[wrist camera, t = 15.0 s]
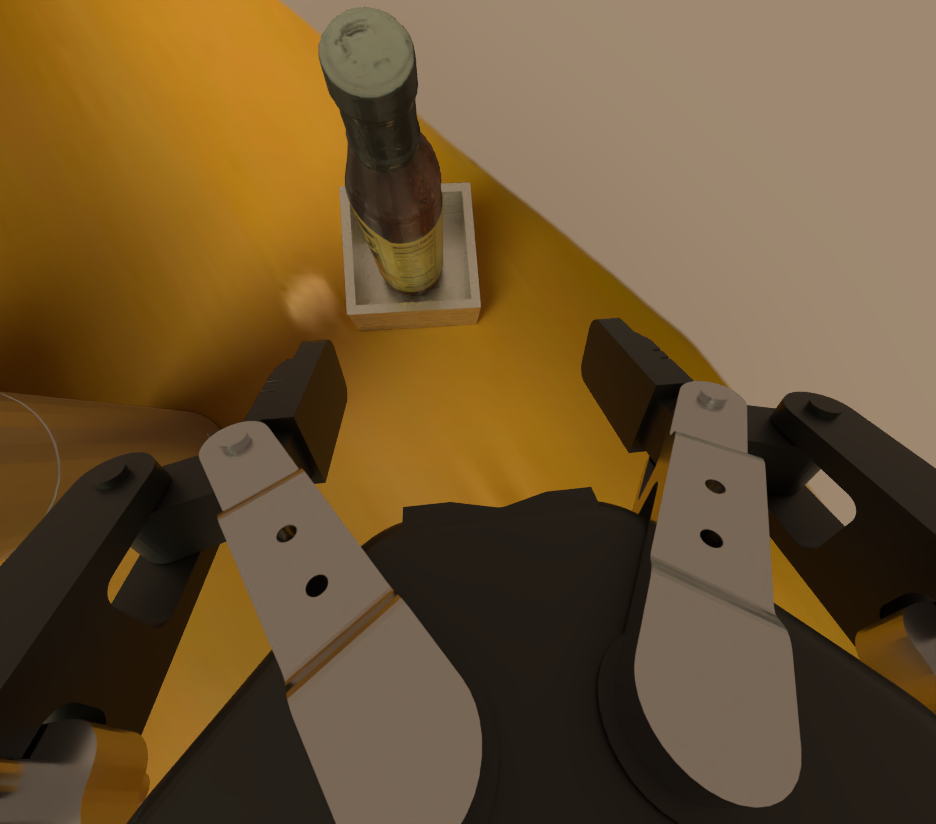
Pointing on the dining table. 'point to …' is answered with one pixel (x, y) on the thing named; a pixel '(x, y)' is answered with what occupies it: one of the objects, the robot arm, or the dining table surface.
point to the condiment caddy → (438, 306)
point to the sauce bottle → (386, 146)
